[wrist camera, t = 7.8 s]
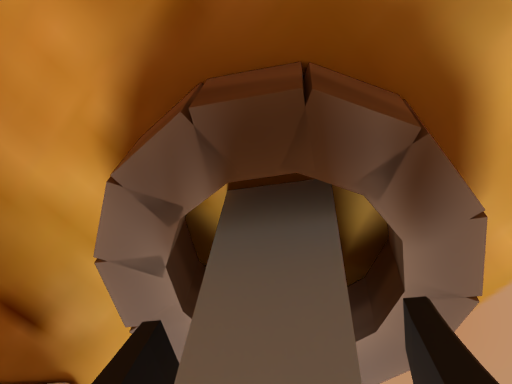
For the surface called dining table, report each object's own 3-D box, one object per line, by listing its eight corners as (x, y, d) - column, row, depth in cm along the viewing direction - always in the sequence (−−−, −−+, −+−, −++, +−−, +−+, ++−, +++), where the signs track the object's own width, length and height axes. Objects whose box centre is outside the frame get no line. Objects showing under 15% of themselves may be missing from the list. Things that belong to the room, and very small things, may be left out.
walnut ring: (451, 329, 19) (475, 388, 17) (179, 350, 22) (163, 405, 19) (458, 31, 13) (498, 53, 11) (76, 103, 15) (32, 135, 13)
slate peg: (340, 260, 18) (382, 550, 9) (247, 269, 19) (206, 549, 10) (330, 177, 16) (371, 444, 8) (227, 190, 17) (155, 451, 8)
